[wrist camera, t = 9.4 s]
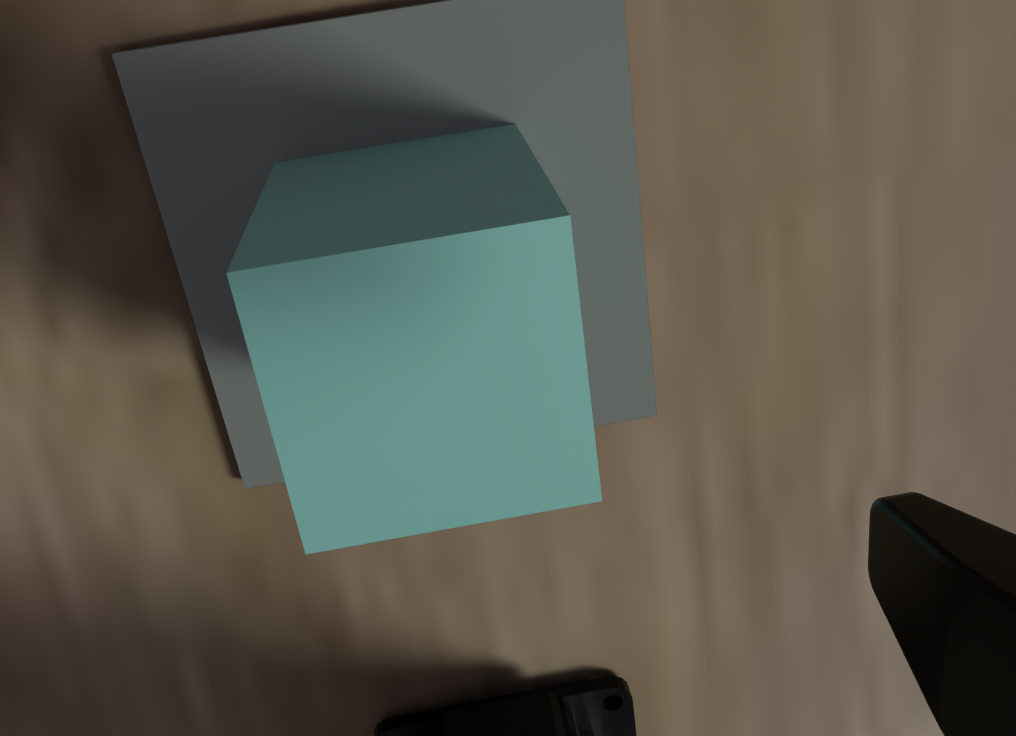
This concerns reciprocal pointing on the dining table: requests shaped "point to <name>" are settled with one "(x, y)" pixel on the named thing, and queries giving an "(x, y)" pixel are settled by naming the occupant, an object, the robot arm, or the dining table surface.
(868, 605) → the dining table surface
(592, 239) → the grey rubber mat
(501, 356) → the teal block
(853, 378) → the dining table surface
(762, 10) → the dining table surface
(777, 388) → the dining table surface
